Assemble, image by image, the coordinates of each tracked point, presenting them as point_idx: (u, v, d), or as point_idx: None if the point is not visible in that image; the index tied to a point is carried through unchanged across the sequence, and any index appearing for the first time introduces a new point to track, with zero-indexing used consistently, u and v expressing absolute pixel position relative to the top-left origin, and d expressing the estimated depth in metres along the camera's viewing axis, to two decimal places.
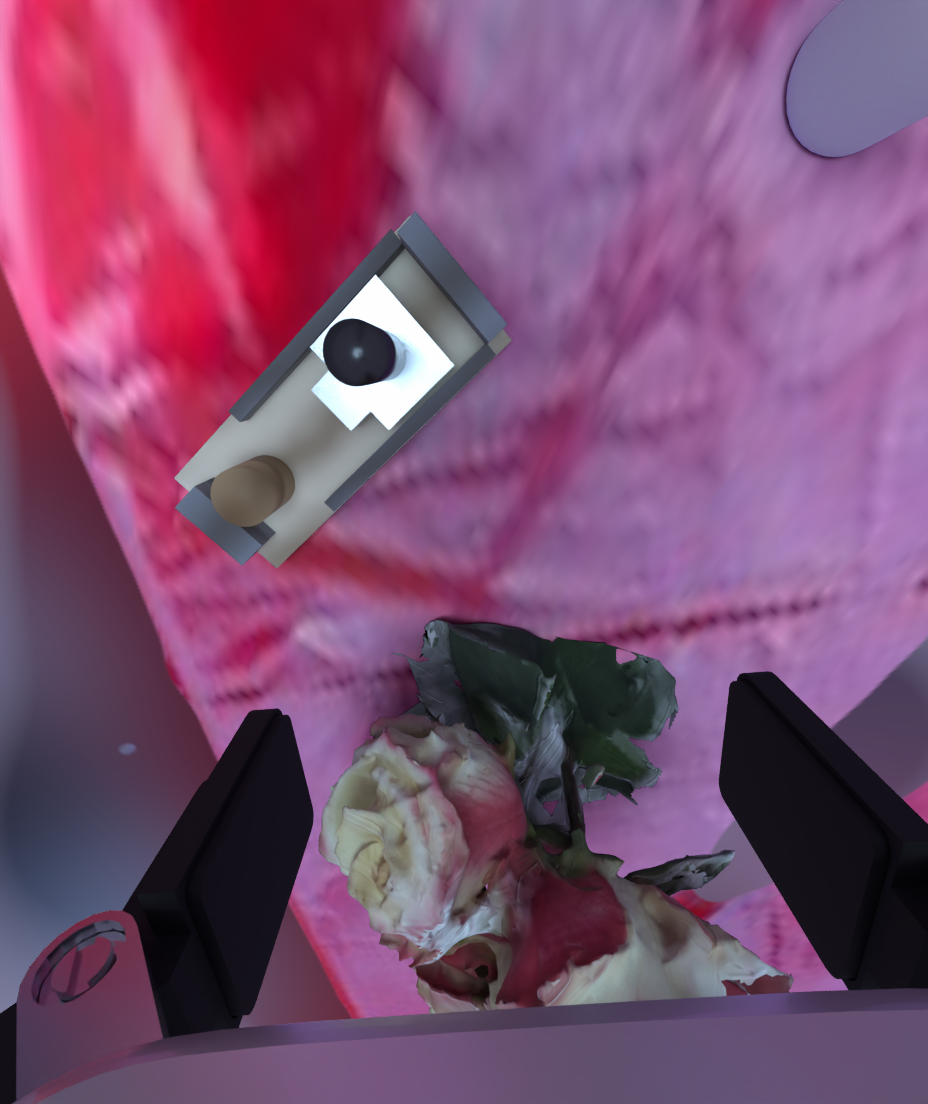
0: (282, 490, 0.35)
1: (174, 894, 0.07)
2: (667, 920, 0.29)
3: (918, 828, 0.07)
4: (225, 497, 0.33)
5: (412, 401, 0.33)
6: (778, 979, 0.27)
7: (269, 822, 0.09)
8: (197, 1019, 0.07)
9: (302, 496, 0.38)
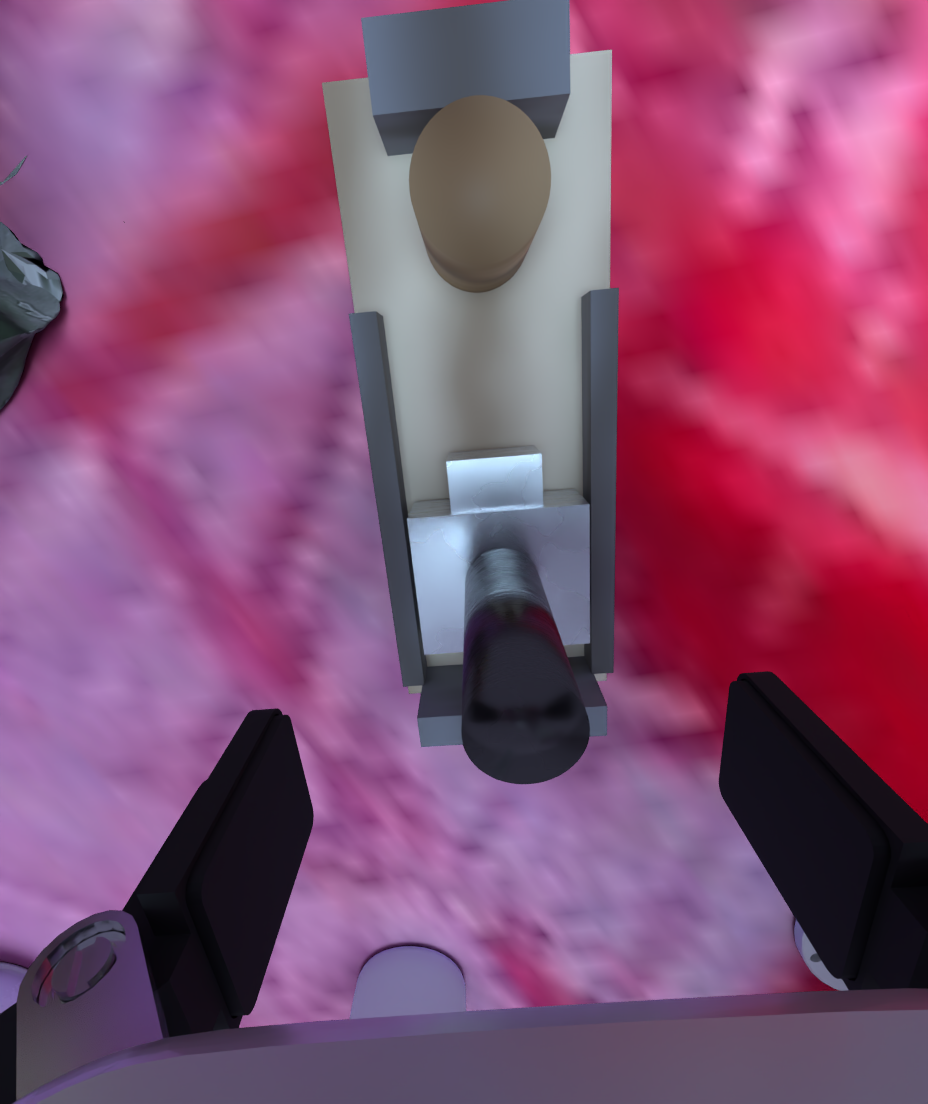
0: (440, 264, 0.17)
1: (174, 894, 0.07)
2: None
3: (918, 828, 0.07)
4: (503, 148, 0.14)
5: (420, 576, 0.20)
6: None
7: (269, 822, 0.09)
8: (197, 1019, 0.07)
9: (413, 270, 0.19)
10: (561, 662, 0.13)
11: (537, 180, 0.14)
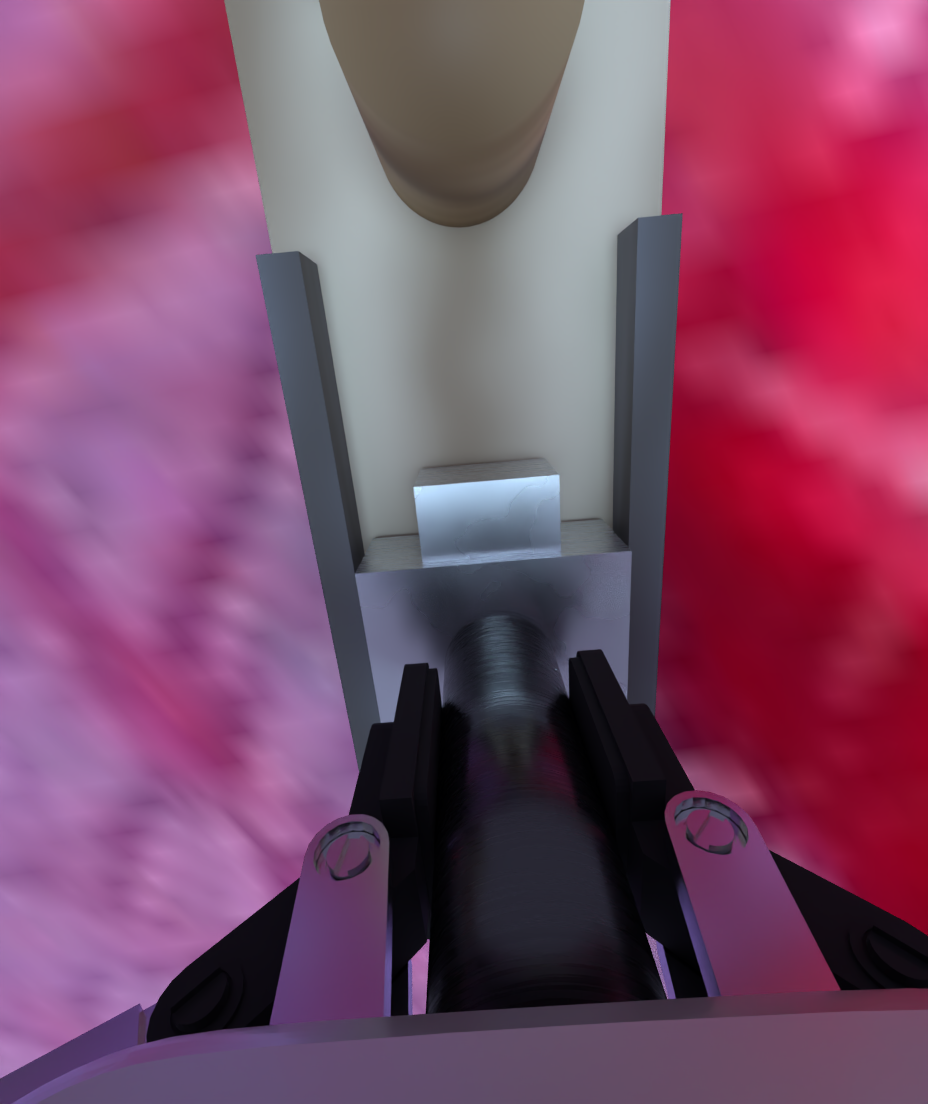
0: (396, 166, 0.10)
1: (412, 799, 0.08)
2: None
3: (652, 770, 0.08)
4: None
5: (378, 655, 0.14)
6: None
7: (438, 758, 0.10)
8: (423, 910, 0.08)
9: (361, 191, 0.13)
10: (629, 939, 0.06)
11: None
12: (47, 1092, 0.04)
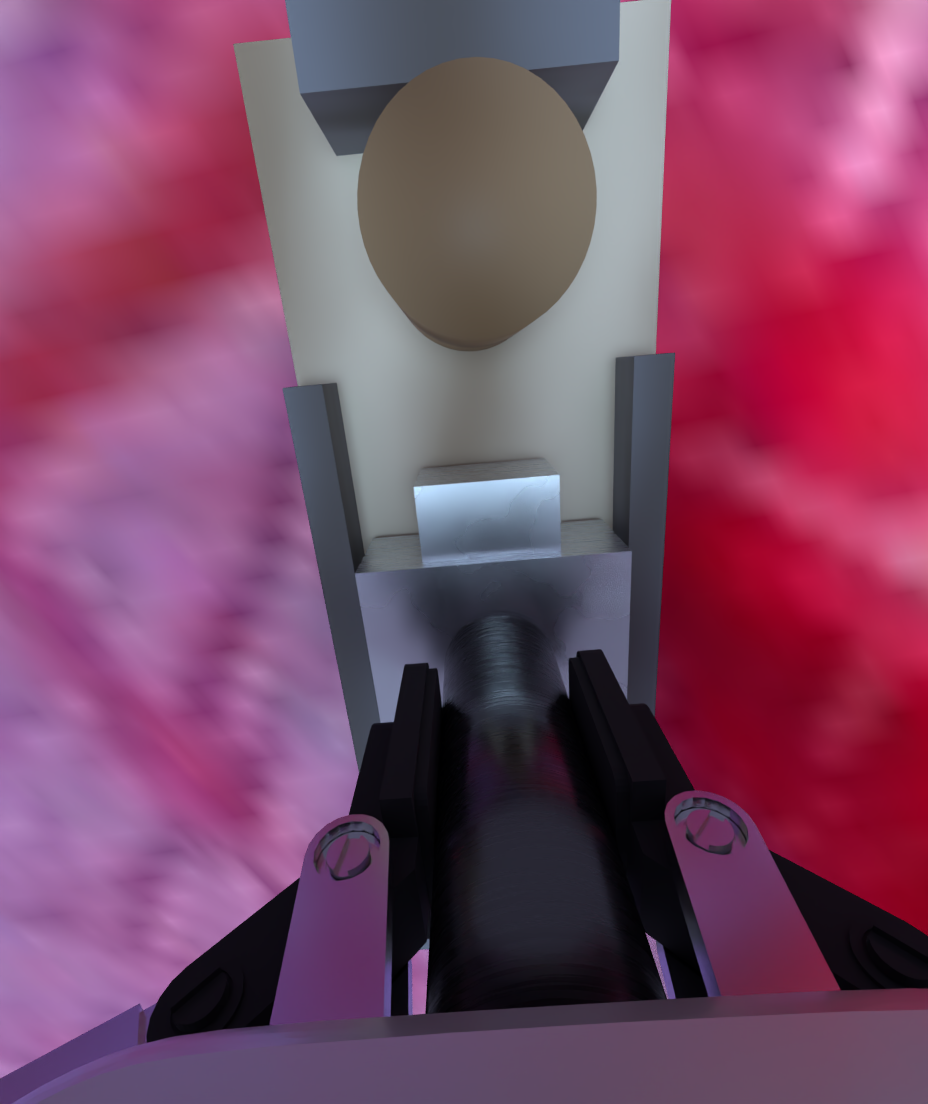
0: (419, 327, 0.11)
1: (412, 799, 0.08)
2: None
3: (652, 771, 0.08)
4: (515, 149, 0.08)
5: (378, 655, 0.14)
6: None
7: (438, 758, 0.10)
8: (423, 909, 0.08)
9: (378, 320, 0.14)
10: (629, 939, 0.06)
11: (573, 199, 0.08)
12: (47, 1092, 0.04)
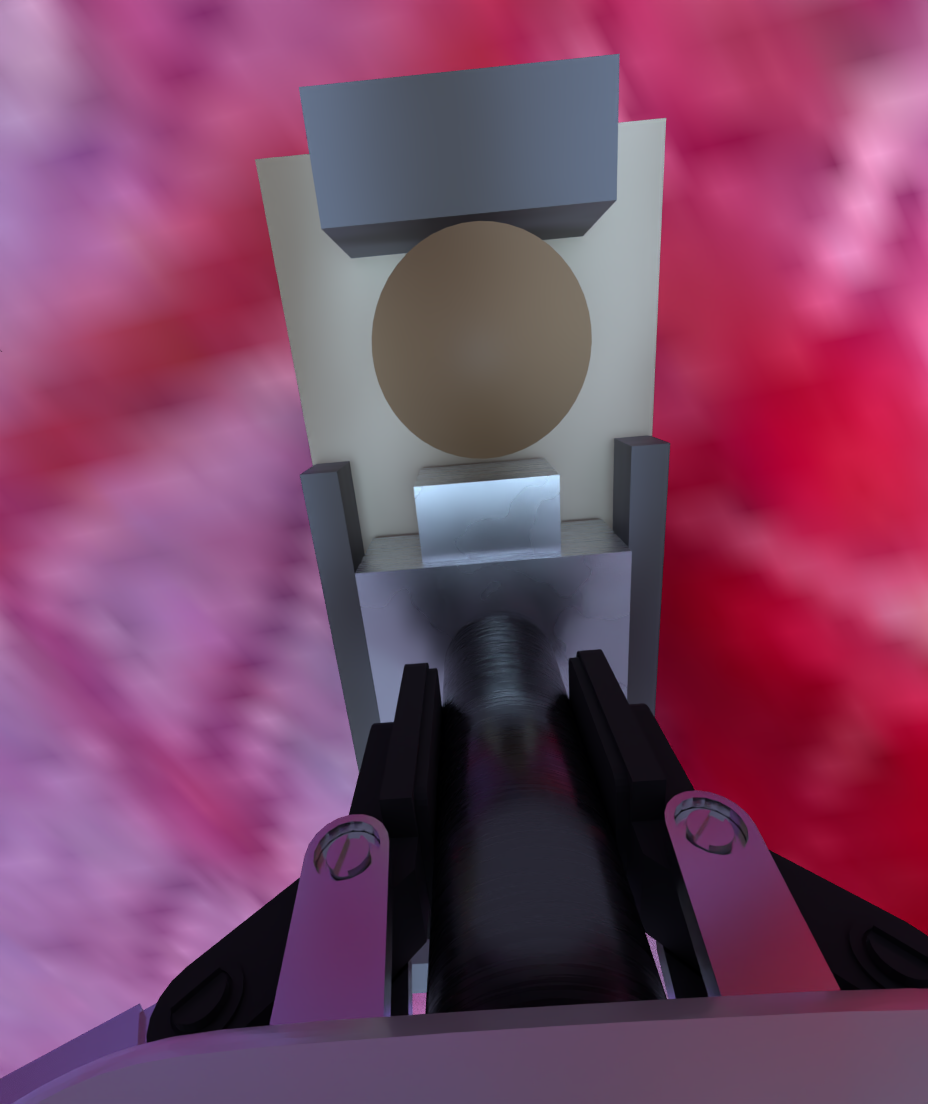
0: None
1: (412, 799, 0.08)
2: None
3: (652, 771, 0.08)
4: (515, 296, 0.09)
5: (378, 655, 0.14)
6: None
7: (438, 758, 0.10)
8: (423, 910, 0.08)
9: None
10: (629, 939, 0.06)
11: (570, 337, 0.09)
12: (47, 1092, 0.04)
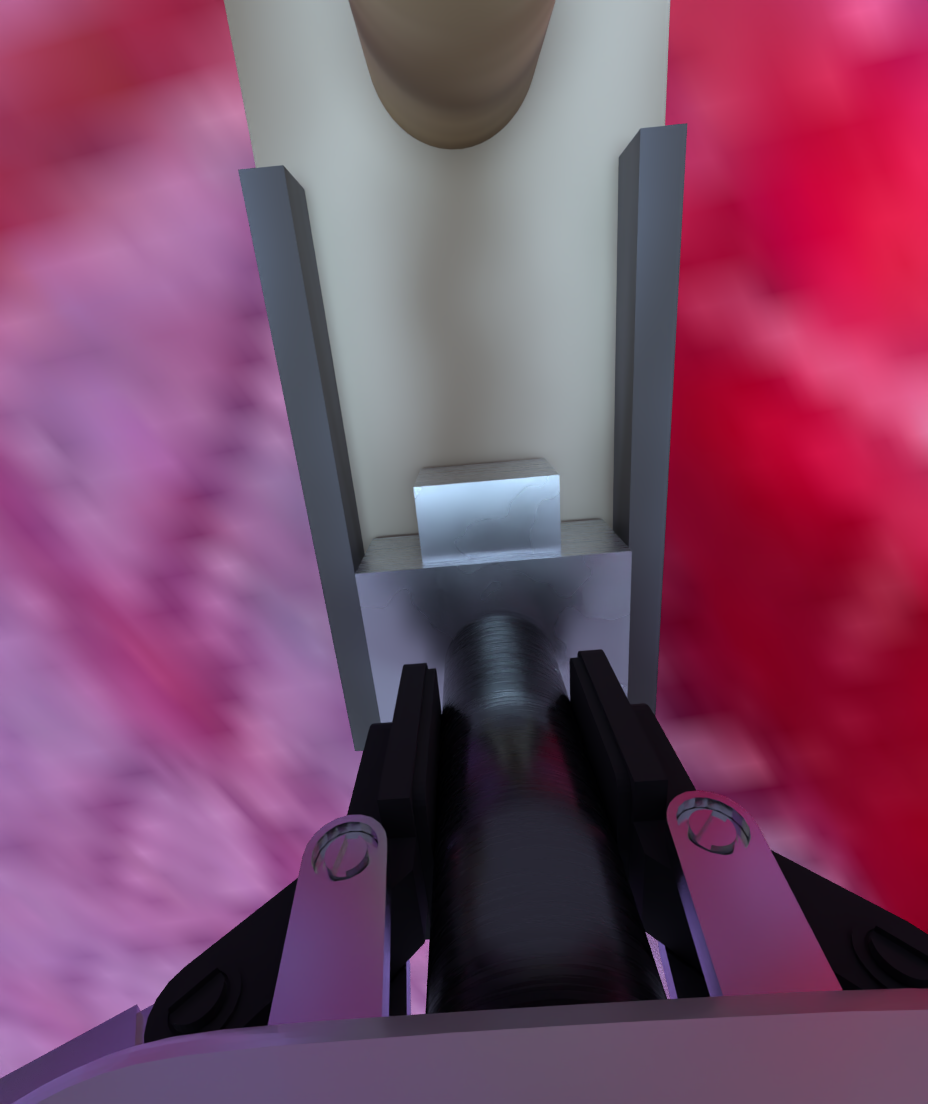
0: (400, 76, 0.10)
1: (410, 799, 0.08)
2: None
3: (654, 771, 0.08)
4: None
5: (378, 656, 0.14)
6: None
7: (437, 758, 0.10)
8: (421, 910, 0.08)
9: (350, 109, 0.12)
10: (629, 939, 0.06)
11: None
12: (47, 1092, 0.04)
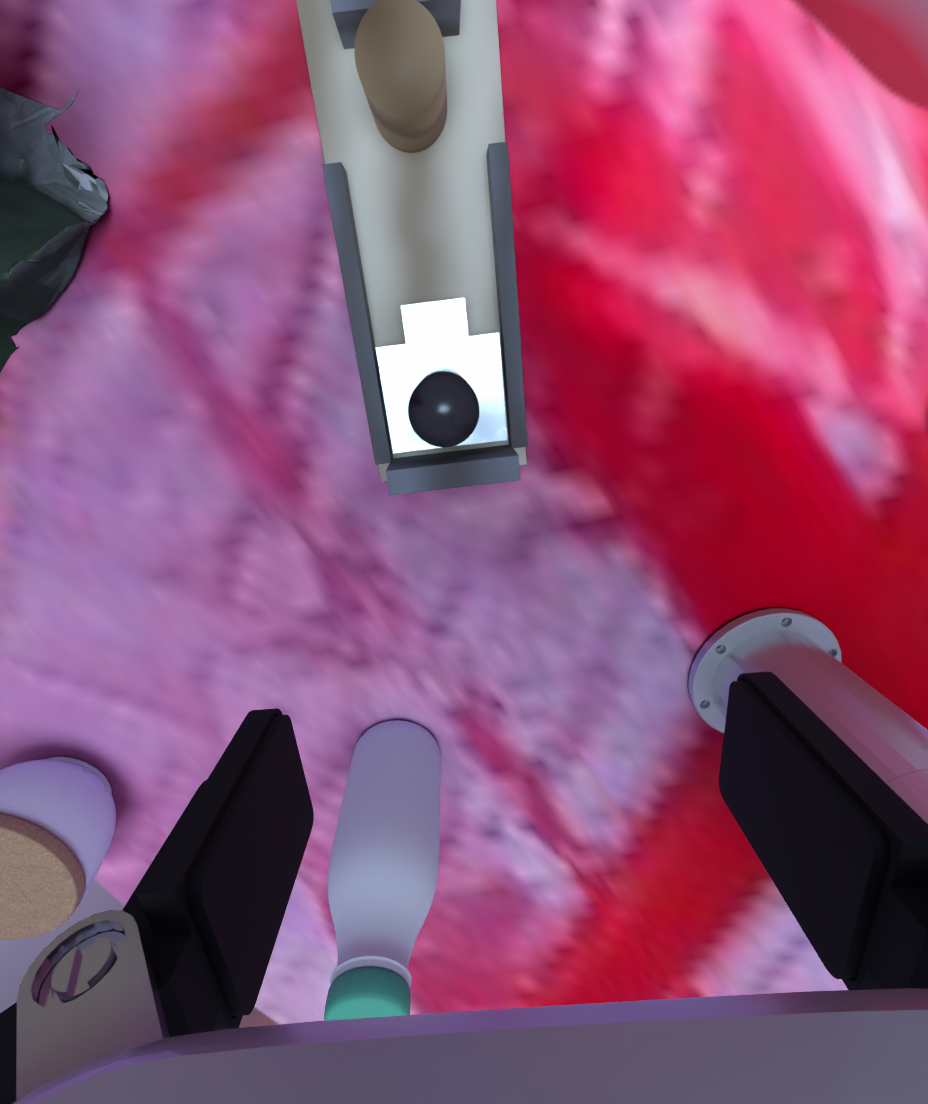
0: (389, 127, 0.25)
1: (174, 894, 0.07)
2: None
3: (918, 828, 0.07)
4: (408, 28, 0.22)
5: (387, 391, 0.29)
6: None
7: (269, 822, 0.09)
8: (197, 1019, 0.07)
9: (366, 136, 0.27)
10: None
11: (434, 42, 0.22)
12: (47, 1092, 0.04)
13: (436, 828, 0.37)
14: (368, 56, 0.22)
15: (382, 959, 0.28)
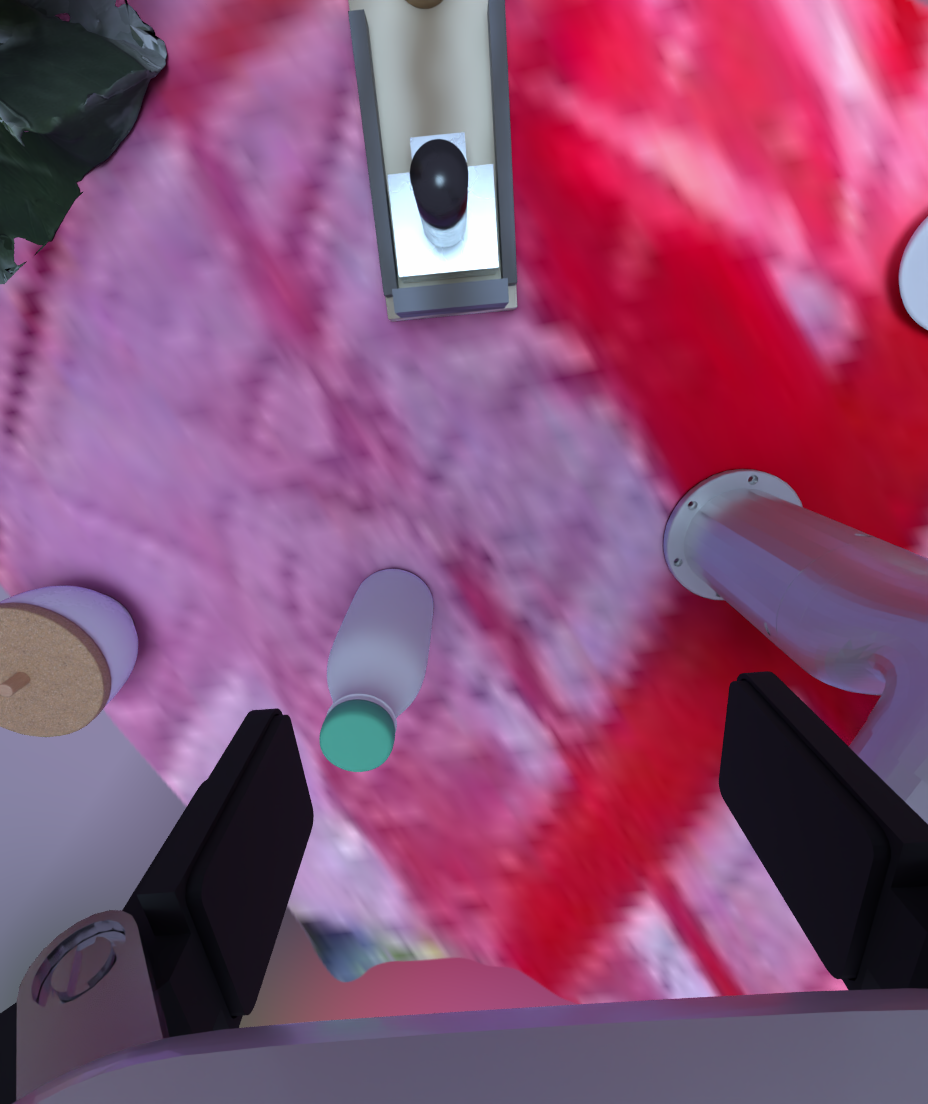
0: None
1: (174, 894, 0.07)
2: None
3: (918, 828, 0.07)
4: None
5: (395, 217, 0.34)
6: None
7: (269, 822, 0.09)
8: (197, 1019, 0.07)
9: None
10: None
11: None
12: (47, 1092, 0.04)
13: (426, 639, 0.41)
14: None
15: (371, 698, 0.32)
